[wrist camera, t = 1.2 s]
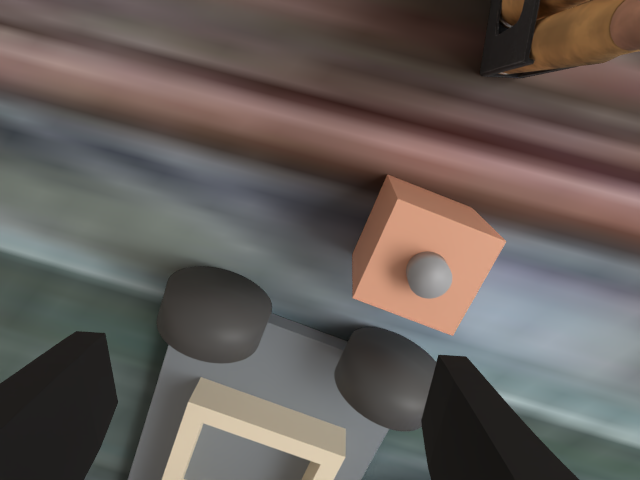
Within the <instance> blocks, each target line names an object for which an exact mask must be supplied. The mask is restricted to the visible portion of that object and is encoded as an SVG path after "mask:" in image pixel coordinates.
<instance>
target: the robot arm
mask: <svg viewBox="0 0 640 480" xmlns="http://www.w3.org/2000/svg"><path fill="white" fill-rule="evenodd" d="M117 403H118V400H117V395H116V389H115V384H114V378H113V373H112V367H111V362H110V357H109V351H108V346H107V340H106V335H105V333H95V332H79V331H76V332H75V333H73V334H71V335H70V336H68V337H67V338H65V339H64V340H62V341H61V342H59V343H58V344H56V345H55V346H54V347H52V348H51V349H49V350H48V351H46V352H45V353H44V354H42V355H41V356H39V357H38V358H36V359H35V360H34V361H32V362H31V363H29V364H28V365H26V366H25V367H24V368H22V369H21V370H19V371H18V372H16V373H15V374H13V375H12V376H11V377H9V378H8V379H6V380H5V381H3V382H2V383H0V480H84V478H85V476H86V474H87V473H88V471H89V469H90V467H91V465H92V463H93V461H94V459H95V457H96V455H97V453H98V451H99V450H100V447H101V445H102V442H103V440H104V437H105V435H106V432H107V430H108V427H109V425H110V422H111V419H112V417H113V414H114V411H115V409H116V406H117ZM421 423H422V430H423V437H424V444H425V451H426V457H427V463H428V469H429V472H430V476H431V480H579V479H578V478H577V477H576V476H575V475H574V474H573V473H572V472H571V471H570V470H569V469H568V468H567V467H566V466H565V465H564V464H563V463H562V462H561V461H560V460H559V459H558V458H557V457H556V456H555V455H554V454H553V453H552V452H551V451H550V450H549V449H548V447H547V446H546V445H545V444H544V443H543V442H542V441H541V440H540V439H539V438H538V437H537V436H536V435H535V434H534V433H533V432H532V430H531V429H530V428H529V427H528V426H527V425H526V424H525V423H524V422H523V421H522V420H521V418H520V417H519V416H518V415H517V414H516V413H515V412H514V411H513V409H512V408H511V407H510V406H509V405H508V404H507V403H506V402H505V400H504V399H503V398H502V397H501V396H500V395H499V394H498V392H497V391H496V390H495V389H494V388H493V387H492V386H491V384H490V383H489V382H488V381H487V380H486V379H485V377H484V376H483V375H482V374H481V373H480V372H479V371H478V369H477V368H476V367H475V366H474V365H473V364H472V363H471V361H470V360H469V359H468V358H467V357H464V356H449V355H438V359H437V363H436V366H435V370H434V374H433V378H432V382H431V385H430V389H429V393H428V397H427V400H426V404H425V408H424V412H423V415H422V419H421Z"/></svg>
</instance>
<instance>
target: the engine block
mask: <svg viewBox="0 0 640 480" xmlns="http://www.w3.org/2000/svg"><path fill="white" fill-rule="evenodd" d="M505 243H506V241H505V240H504V239H503V238H502V237H501V236H500V235H499V234H498V233H497V232H496V231H495V230H494V229H493V228H492V227H491V226H490V225H489V224H488V223H487V222H486V221H485V220H484V219H483V218H482V217H481V216H480V215H479V214H478V213H477V212H476V211H475V210H474V209H472V208H471V207H469V206H466V205H464V204H461V203H458V202H456V201H453V200H451V199H448V198H446V197H443V196H441V195H438V194H436V193H433V192H431V191H428V190H426V189H423V188H421V187H418V186H415V185H413V184H410V183H408V182H405V181H403V180H400V179H398V178H395V177H393V176H390V175H388V174H387V176H386V179H385V181H384V183H383V185H382V188H381V190H380V192H379V195H378V197H377V199H376V201H375V204H374V206H373V208H372V211H371V213H370V215H369V217H368V220H367V222H366V224H365V227H364V229H363V231H362V233H361V236H360V238H359V240H358V242H357V245H356V247H355V249H354V252H353V254H352V281H353V298H354V299H356V300H359V301H362V302H364V303H367V304H370V305H372V306H375V307H378V308H380V309H383V310H386V311H388V312H391V313H394V314H396V315H399V316H402V317H404V318H407V319H410V320H412V321H415V322H417V323H420V324H423V325H425V326H428V327H431V328H433V329H436V330H439V331H441V332H444V333H447V334H449V335H452V336H453V335H454V333H455V331H456V329H457V328H458V326H459V324H460V322H461V320H462V319H463V317H464V315H465V313H466V312H467V310H468V308H469V306H470V305H471V303H472V301H473V299H474V297H475V296H476V294H477V292H478V290H479V289H480V287H481V285H482V283H483V282H484V280H485V278H486V276H487V275H488V273H489V271H490V269H491V267H492V266H493V264H494V262H495V260H496V259H497V257H498V255H499V253H500V252H501V250H502V248H503V246H504V244H505Z"/></svg>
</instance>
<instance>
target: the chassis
mask: <svg viewBox="0 0 640 480" xmlns="http://www.w3.org/2000/svg"><path fill="white" fill-rule="evenodd" d="M271 312H272V303H271V300H270V298H269V297H268V295H267V294H266V293H265V292H264V290H262V289H261V288H260V287H259V286H258V285H257V284H255V283H254V282H252V281H251V280H249V279H247V278H245V277H243V276H241V275H239V274H236V273H233V272H231V271H227V270H224V269H219V268H214V267H202V266H198V267H188V268H184V269H181V270H178V271H177V272H175V273H173V274H172V275H171V276H170V278H169V279H168V282H167V285H166V289H165V292H164V296H163V299H162V303H161V306H160V310H159V313H158V317H157V328H158V331H159V333H160V335H161V337H162V338H163V339H164V340H165V341H166V343H167V344H169V345H168V349H167V352H166V355H165V359H164V362H163V365H162V368H161V372H160V375H159V378H158V382H157V385H156V388H155V391H154V395H153V398H152V401H151V405H150V408H149V411H148V415H147V418H146V421H145V424H144V428H143V431H142V434H141V438H140V441H139V444H138V447H137V451H136V454H135V457H134V461H133V464H132V467H131V471H130V474H129V477H128V480H361V479H362V477H363V475H364V473H365V471H366V470H367V468H368V466H369V464H370V462H371V461H372V459H373V457H374V455H375V453H376V452H377V450H378V448H379V446H380V444H381V443H382V441H383V439H384V437H385V435H386V434H387V432H388V430H389V429H391V430H396V431H413V430H416V429H419V428H420V427H422V423H421V419H422V415H423V412H424V408H425V404H426V400H427V397H428V393H429V389H430V385H431V382H432V378H433V374H434V370H435V366H436V363H437V362H436V361H435V360H434V359H433V358H432V357H431V356H430V355H429V354H428V353H427V352H426V351H425V350H423V349H422V348H421V347H419V346H418V345H417V344H415V343H414V342H412V341H410V340H409V339H407V338H405V337H403V336H401V335H399V334H396V333H394V332H391V331H388V330H385V329H381V328H375V327H364V328H360V329H357V330H355V331H354V332H353V333H352V334H351V336H350V338H349V341H345V340H342V339H340V338H337V337H334V336H332V335H329V334H326V333H323V332H321V331H318V330H315V329H313V328H310V327H307V326H305V325H302V324H299V323H296V322H294V321H291V320H288V319H286V318H283V317H280V316H278V315H275V314H272V313H271Z"/></svg>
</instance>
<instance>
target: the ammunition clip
mask: <svg viewBox="0 0 640 480" xmlns="http://www.w3.org/2000/svg"><path fill="white" fill-rule="evenodd" d="M572 7H573V8H572ZM637 51H640V0H492V1H491V7H490V13H489V19H488V26H487V32H486V38H485V44H484V50H483V56H482V63H481V69H480V75H481V76H487V77H506V78H525V77H530V76H535V75H539V74H544V73H549V72H554V71H559V70H564V69H569V68H573V67H578V66H583V65H592V64H599V63H604V62H607V61H609V60H611V59H613V58H615V57H617V56H619V55H623V54H628V53H632V52H637Z"/></svg>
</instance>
